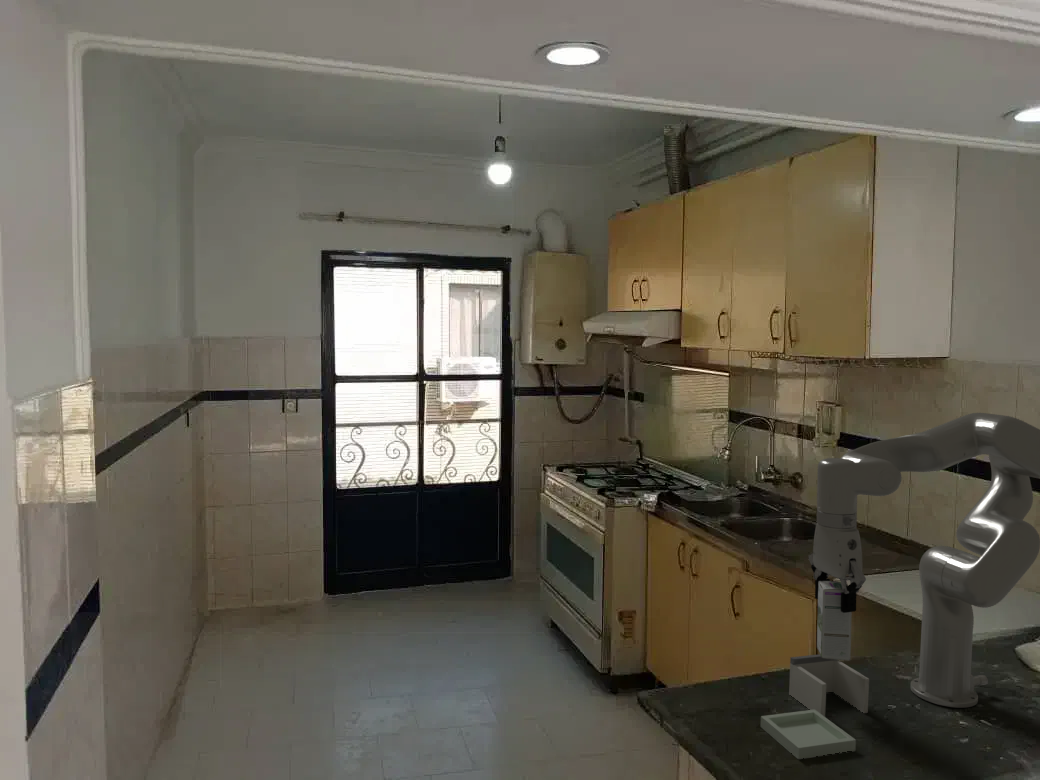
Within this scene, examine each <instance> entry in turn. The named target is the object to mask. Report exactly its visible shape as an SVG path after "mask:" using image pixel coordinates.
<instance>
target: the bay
mask: <svg viewBox="0 0 1040 780" xmlns="http://www.w3.org/2000/svg"><path fill="white" fill-rule="evenodd" d="M789 658H790V659H789V660H790V661H789V687H788V688H789V690H788V695H791V696H792V697H794V698H795V699H796V700H798V701H799V702H800V703H802V704H803V705H804V706H806V707H807V708H808V709H810V710H814V709H815V710H816V711H817V712H819V713H820V714H821V715H823V716H824V717H825V718H826V704H827V693H826V692H832V691H833V692H835V693H836V694H837V695H839V696H840V697H841V698H840V697H839V696H838V697H839V698H840V699H842V698H843V699H844V700H843V699H842V700H843V701H844V702H846V701H847V702H846V703H848V702H849V703H850V705H851V706H852V705H853V706H852V707H854V708H855V707H856V708H857V710H858V711H859V710H860V711H859V712H861V713H862V712H863V713H862V714H867V713H869V695H870V694H869V692H870V678H869V677H867V676H865V675H863V674H862V673H861V672H859V671H857V670H856V669H854V668H852V667H850V666H849V665H847V664H845V663H844V662H842V660H835V659H826V658H822V657H821V655H820V653H818V654H810V655H801V656H791V657H789ZM836 694H835V695H836ZM837 695H836V696H837ZM791 696H790V697H791ZM792 697H791V698H792ZM795 699H794V700H795ZM796 700H795V701H796ZM799 702H798V703H799ZM800 703H799V704H800ZM849 703H848V704H849ZM803 705H802V706H803ZM804 706H803V707H804ZM807 708H806V709H807ZM856 708H855V709H856ZM808 709H807V710H808Z"/></svg>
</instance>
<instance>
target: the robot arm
mask: <svg viewBox="0 0 1040 780" xmlns="http://www.w3.org/2000/svg"><path fill="white" fill-rule="evenodd" d="M981 455H988V459H989V464H990V468H991V469H990V470H991V478H990V479H991V481H990V485H989V486H988V489H987V490H986V491H985V493H984V494H983V495H982V497H981V498H980V499H979V500H978V501H977V502H976V504H974V505H973V507H972V508H971V509H970V511H969V512H967V514H966V515H965V516H964V517H963V518H962V520H961V521H960V523H959V525H958V527H957V529H956V532H955V533H956V539H957V541H958V543H959V544H960V545H961V546H962V547H963V548H965V549H966V550H968V551H970V552H972V553H970V552H967V551H963V550H961V549H958V548H955V547H951V546H947V545H946V546H945V545H939V546H938V545H936V546H933V547H930V548H928V549H927V550H926V551H925V552H924V553H923V555H922V556H921V558H920V560H919V561H920V562H919V567H918V570H919V571H918V573H919V580H920V585H921V593H922V595H921V596H922V612H921V613H922V615H921V616H922V617H921V631H920V634H921V635H920V652H919V670H918V671H919V673H918V674H919V675H918V677H917V678H913V679H912V680H911V681H910V691H912V693H914V695H915V696H917V697H918V698H920V699H923V700H924V701H926V702H929V703H932V704H935V705H938V706H942V707H948V708H955V709H956V708H957V709H963V708H964V709H965V708H971V707H974V706H976V705H977V704H978V703H979V696H978V693H977V692H976V691H975V690H974V689H975V688H976V687H978V686H984V685H988V683H989V680H988V678H987V676H986V675H984V674H980V675H973V674H972V655H973V651H972V650H973V637H974V625H975V624H974V623H975V621H974V618H975V617H974V609H973V607H977V608H981V609H984V608H987V609H988V608H992V607H994V606H996V605H997V604H999V603H1000V602H1002V600H1004V599H1005V597H1006V596H1007V595H1008V594H1010V591H1012V589H1014V587H1015V586H1016V585H1017V583H1018V582H1019V581H1020V580H1021V579H1022V578H1023V576H1024V575H1025V574H1026V573H1027V572H1028V570H1029V569H1030V568H1031V567H1032V565H1033V564H1034V563H1035V561H1036V560H1037V558H1038V555H1039V552H1040V534H1039V533H1038V531H1037V529H1036V528H1035V527H1034V526H1033V525H1032V524H1031V523H1029V522H1027V521H1025V520H1024V519H1025V517H1026V516H1027V515H1028V513H1029V511H1031V508H1032V506H1033V502H1034V501H1033V500H1034V494H1033V493H1034V492H1033V489H1032V488H1033V487H1032V484H1031V483H1032V482H1031V479H1030V478H1036V479H1040V428H1038V427H1036V426H1034V425H1032V424H1030V423H1028V422H1025V421H1023V420H1022V419H1019V418H1017V417H1013V416H1009V415H1002V414H995V413H986V412H973V413H968V414H965V415H962V416H960V417H957V418H955V419H952V420H950V421H947V422H945V423H942V424H940V425H936V426H934V427H932V428H930V429H927V430H924V431H922V432H917V433H916V432H915V433H913V434H907V435H901V436H898V437H892V438H887V439H882V440H877V441H874V442H871V443H868V444H865V445H862V446H859V447H857V448H854V449H853V450H850V451H847V452H846V453H845V454H843V455H842V456H841V457H827V458H823V459H821V460H820V461H819V462H818V464H817V474H816V475H817V476H816V477H817V480H816V481H817V482H816V485H817V486H816V491H817V492H816V523H815V530H814V536H813V544H812V545H813V548H812V553H810V554H809V555H808V558H807V559H808V561H809V563H810V565H811V566H810V568H811V571H812V573H813V576H812V577H813V579H814V598H815V599H816V600H818V582H819V581H831V579H830V578H829V576H832V577H833V578H836V579H838V580H839V582H841V585H842V588H843V592H841V612H843V613H847V612H852V613H854V612H856V611H857V594H858V593H859V592H860V589H861V588H862V587H863V584H864V583H865V582H866V580H867V579H866V576H865V574H864V573H863V551H862V548H863V547H862V541H861V536H860V532H859V529H857V522H858V521H857V520H858V518H857V516H858V496H859V495H863V496H873V497H886V496H889V495H891V494H894V493H895V492H896V491H897V490H898V489H899V487H900V486H901V484H902V479H903V477H902V474H901V473H903V472H912V473H927V472H929V473H930V472H938V471H939V472H940V471H942V470H945V469H948V468H949V467H953V466H954V465H957V464H960V463H963V462H965V461H967V460H969V459H973V458H975V457H977V456H981ZM973 553H974V554H976V555H973ZM977 555H979V556H977ZM847 575H848V576H847ZM847 581H848V582H850V584H848V582H847Z"/></svg>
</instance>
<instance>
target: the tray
mask: <svg viewBox="0 0 1040 780" xmlns="http://www.w3.org/2000/svg"><path fill="white" fill-rule="evenodd" d="M759 726H760V728H761V729H763V731H765V732H766V733H767V734H768V735H769V736H770V737H772V738H773V739H774V740H775V741H776V742H777V743H779V745H781V746H782V747H784V749H786V751H788V752H789V753H790V754H791V753H792V754H791V755H793V756H794V758H796V759H797V760H802V759H803V758H804V759H810V758H817V757H816V756H818V757H824V756H823V755H825V756H828V755H827V754H832V755H836V754H835V753H839V752H840V753H839V754H843V753H842V752H846V753H848V752H847V751H852V752H856V747H857V746H856V745H857V739H855V737H853V736H851V735H850V734H848V733H847V732H846V731H845V730H843V729H842V728H840V727H839V726H838V725H836V724H835V723H834V722H832V721H831V720H829V719H828V718H827V717H826V716H825V717H824V716H823V715H821V714H820V713H819V712H817V711H816V710H815V709H814V710H808V709H807V710H799V711H792V712H784V713H776V714H768V715H761V716H760V725H759ZM804 759H803V760H804Z"/></svg>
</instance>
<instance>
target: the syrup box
mask: <svg viewBox="0 0 1040 780" xmlns="http://www.w3.org/2000/svg"><path fill="white" fill-rule="evenodd" d="M841 592H843V588H842V585H841V582H840V581H835V580H830V581H819V582H818V599H817V622H816V624H817V625H816V629H817V630H816V648H817V651H818V654H820V655H821V657H822V658H826V659H835V660H839V661H849V662H850V661H851V653H852V616H853V615H852V613H853V612H847V613H843V612H841Z"/></svg>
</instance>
